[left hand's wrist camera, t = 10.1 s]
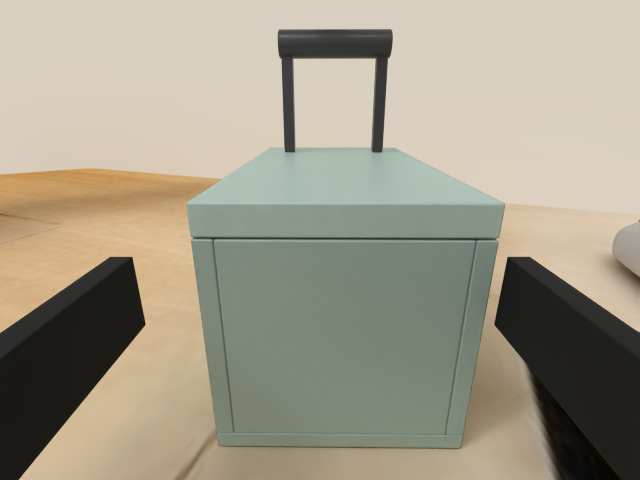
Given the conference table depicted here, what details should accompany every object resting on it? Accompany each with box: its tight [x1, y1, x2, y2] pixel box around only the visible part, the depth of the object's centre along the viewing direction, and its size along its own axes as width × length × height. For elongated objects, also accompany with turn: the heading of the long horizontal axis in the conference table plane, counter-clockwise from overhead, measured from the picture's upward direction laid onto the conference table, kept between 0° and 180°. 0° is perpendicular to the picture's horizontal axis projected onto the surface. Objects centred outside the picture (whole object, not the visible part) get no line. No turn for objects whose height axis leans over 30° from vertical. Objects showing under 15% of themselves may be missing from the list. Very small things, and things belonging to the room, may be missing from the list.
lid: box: [187, 29, 505, 238], centre depth 18 cm, size 18×10×9 cm, turn 0°
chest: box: [191, 237, 498, 448], centre depth 21 cm, size 17×10×9 cm, turn 0°
